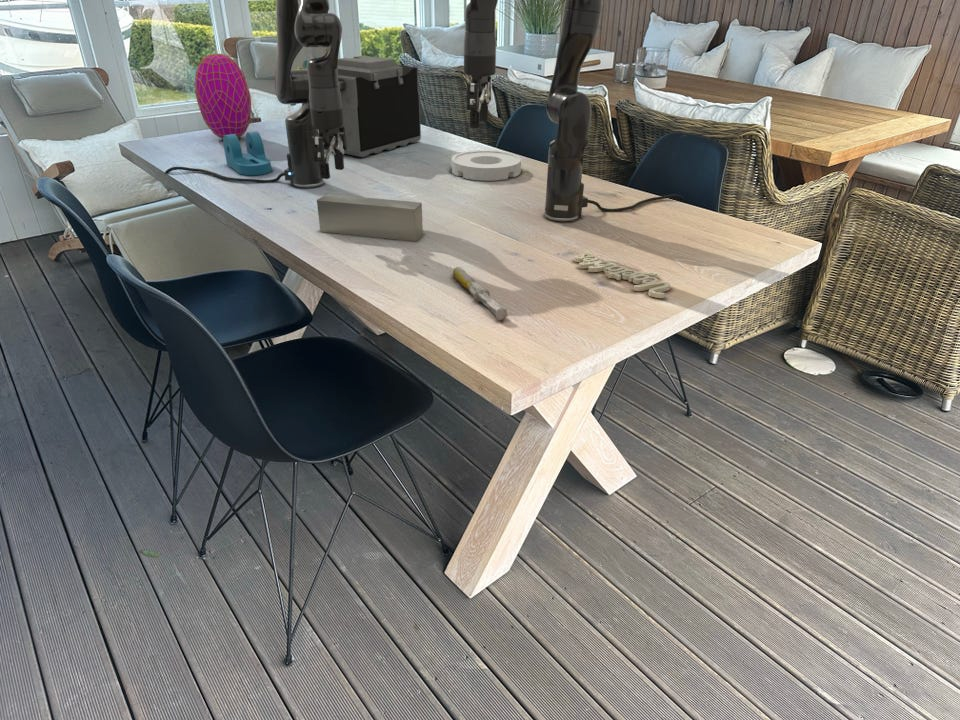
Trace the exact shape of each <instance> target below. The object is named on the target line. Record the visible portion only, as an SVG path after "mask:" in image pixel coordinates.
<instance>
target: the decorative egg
mask: <svg viewBox="0 0 960 720" xmlns="http://www.w3.org/2000/svg"><path fill="white" fill-rule="evenodd" d="M194 81H195V82H194V90H195V98H196V102H197V105H198V109H199V111H200V114H201V117H202V119H203V121H204V123H205V124H206V126H207V127H208V129H209V130H210V131H211V132H212V134H213V135H215V136H216V137H218V138H219V139H222V140H223V137H224V135H230V134H235V135H236V136H237V138H238V139H239V138H241V137H243V135H244V134H246V133H247V130H248V128H249V126H250V123H251V122H250V121H251V118H252V96H251V92H250V89H249V86H248V82H247V79H246V76H245V74H244V72H243V70H242V69H241V67H240V66H239V64H238V63H237V62H236V60H235V59H233V58H231V57H230V55H226V54H222V53H211V54H209V55H208V54H207V55H206V56H204V57H203V58H202V59H201V60H200V61H199V63H198V65H197V68H196V72H195V76H194Z"/></svg>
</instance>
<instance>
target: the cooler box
mask: <svg viewBox="0 0 960 720" xmlns="http://www.w3.org/2000/svg"><path fill="white" fill-rule="evenodd" d="M338 78H339V88H340V93H341V100H342V111H343V122H344V124H343V126H344V127H345V135H346V144H347V150H344V154H343V155H348V156H353V157H357V158H362V159H363V158H366V157H367V158H368V157H369V155H371V154H375V155H377V154H381V153H382V152H383V151H391V150H395V149H396V148H397V147H405V146H407V145H408V144H416V143H418V142H419V141H421V137H422V128H421V97H420V92H419V91H420V89H419V68H418V67H417V66H408V65H400V64H396V62H395V60H394V59H393V58H385V57H377V56H367V55H356V56H353V57H350V58H349V57H343V58H342V57H341V58H338ZM342 143H343V141H342ZM332 152H333V150H332Z"/></svg>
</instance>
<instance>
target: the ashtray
mask: <svg viewBox="0 0 960 720" xmlns="http://www.w3.org/2000/svg"><path fill="white" fill-rule="evenodd" d="M521 172H522V158H521V157H520V156H519V155H517V154H515V153H512V152H508V151H502V150H501V151H500V150H487V149H482V150H481V149H479V150H468V151H463V152H459V153H456V154H454V155H453V156H452V157H451V173H452V174H453V175H454V176H456V177H462V178H463V179H467V180H471V181H482V182H483V181H486V182H487V181H488V182H489V181H491V182H492V181H503V180H508V179H509V178H515V177H517V176H519V175H521Z"/></svg>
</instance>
